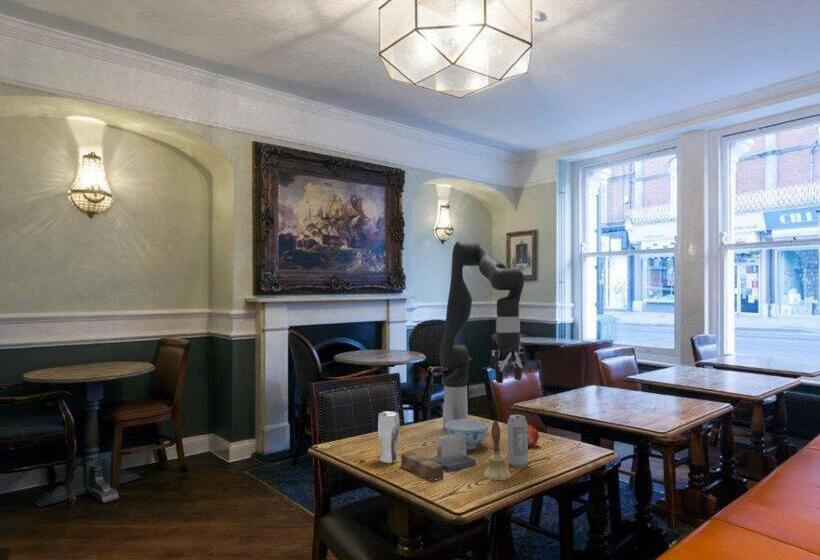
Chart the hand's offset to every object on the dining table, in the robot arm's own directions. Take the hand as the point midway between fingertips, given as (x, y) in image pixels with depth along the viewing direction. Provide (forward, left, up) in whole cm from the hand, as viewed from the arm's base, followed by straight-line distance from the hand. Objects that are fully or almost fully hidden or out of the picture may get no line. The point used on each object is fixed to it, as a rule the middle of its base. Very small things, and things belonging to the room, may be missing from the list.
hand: (508, 381), depth 164 cm
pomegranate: (-9, +18, -26) cm, 33 cm away
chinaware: (-21, 0, -26) cm, 33 cm away
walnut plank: (-10, -28, -26) cm, 39 cm away
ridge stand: (-10, -16, -26) cm, 32 cm away
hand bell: (+6, -12, -26) cm, 29 cm away
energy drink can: (+3, 0, -26) cm, 26 cm away
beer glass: (-25, -30, -26) cm, 47 cm away
